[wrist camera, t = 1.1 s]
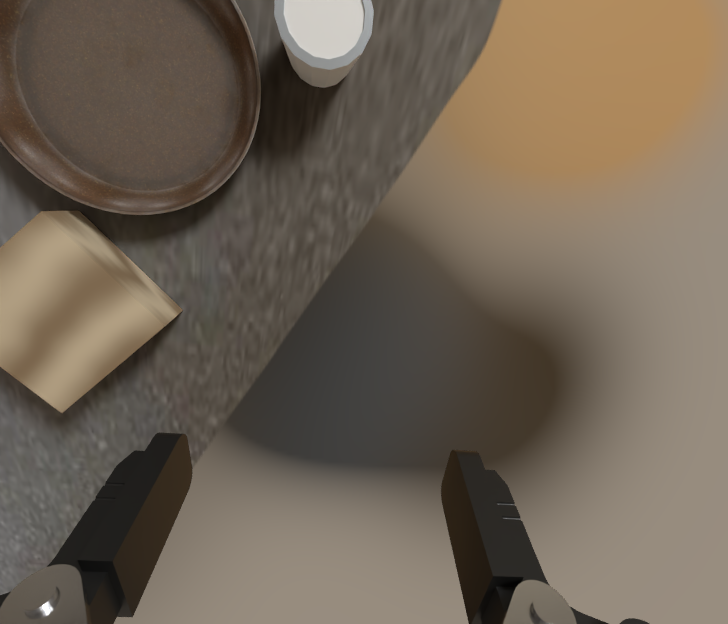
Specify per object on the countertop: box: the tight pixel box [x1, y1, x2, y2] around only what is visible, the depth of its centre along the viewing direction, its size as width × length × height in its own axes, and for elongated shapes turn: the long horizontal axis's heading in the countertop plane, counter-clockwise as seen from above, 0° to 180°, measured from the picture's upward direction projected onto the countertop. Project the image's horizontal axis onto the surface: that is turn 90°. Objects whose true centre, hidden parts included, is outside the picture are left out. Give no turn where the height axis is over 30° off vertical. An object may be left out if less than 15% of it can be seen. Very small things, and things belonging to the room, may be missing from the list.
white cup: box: [274, 0, 374, 88], centre depth 29 cm, size 7×7×7 cm
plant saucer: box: [0, 0, 261, 215], centre depth 30 cm, size 21×21×3 cm
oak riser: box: [0, 210, 183, 413], centre depth 33 cm, size 12×12×5 cm
